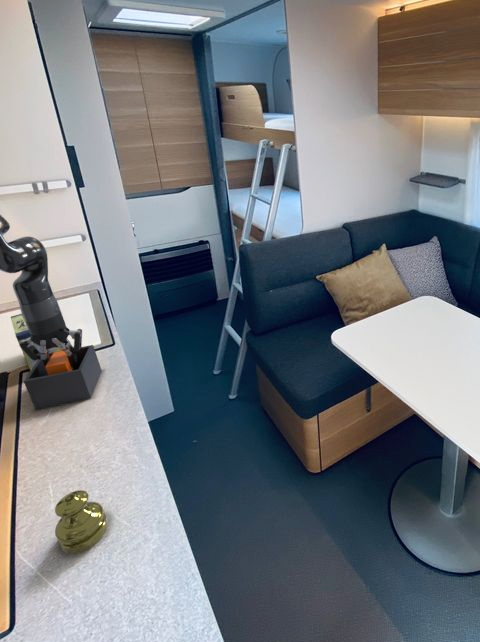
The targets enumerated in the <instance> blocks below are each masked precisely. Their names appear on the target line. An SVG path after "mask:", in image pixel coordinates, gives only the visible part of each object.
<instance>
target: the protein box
mask: <svg viewBox="0 0 480 642" xmlns="http://www.w3.org/2000/svg"><path fill="white" fill-rule="evenodd" d="M10 320H11V324H12V328H13V331H14V335H15V338H16V340H17V343H18V344H19V345H20V343H21V342H22V341H23V339H25V338H26V339H28V338H31V334H30V332H29V330H28V327H27V325H26V323H25V320H24V318H23V317H22V313H18V314H16V315H12V316H10ZM19 345H18V346H19ZM33 345H34V346H35V347H36V349H37V350H38V351H39V352H40V346H39V345H37V344H35V343H34V342H33ZM20 350H21V352H22V354H23V356H24V359H25V361H26V363H27V366H28V368H29V372H30V371H31V370H32V368H33V367H34V365H35V364H36V362H37V361H38V360H36V361H33V360H32V359H31V358H30V357H29V356H28V355H27V354H26V353H25V351H24V350H23V349H22V348H21V347H20ZM57 351H62V350H61V349H60V348H59V347H53V348H51V349H49V353H52V352H57Z"/></svg>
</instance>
